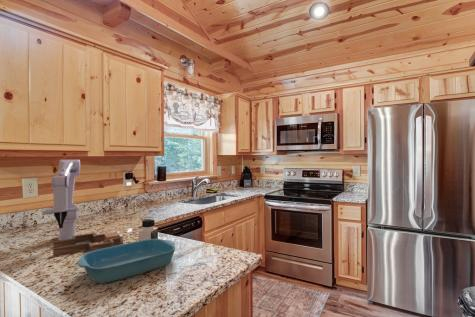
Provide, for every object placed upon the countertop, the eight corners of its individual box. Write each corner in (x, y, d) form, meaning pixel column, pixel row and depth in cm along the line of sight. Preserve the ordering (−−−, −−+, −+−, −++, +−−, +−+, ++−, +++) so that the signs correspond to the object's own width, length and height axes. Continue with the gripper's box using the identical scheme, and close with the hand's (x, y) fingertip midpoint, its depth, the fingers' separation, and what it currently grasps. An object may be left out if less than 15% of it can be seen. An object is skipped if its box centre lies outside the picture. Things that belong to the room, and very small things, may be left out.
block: (104, 241, 135) (104, 234, 135) (117, 239, 139) (117, 232, 138) (106, 244, 130) (106, 237, 130) (119, 242, 134) (119, 234, 134)
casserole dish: (161, 249, 124) (161, 234, 124) (185, 263, 107) (185, 246, 107) (71, 272, 99) (71, 254, 99) (85, 295, 83) (84, 273, 83)
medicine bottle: (151, 245, 128) (150, 221, 128) (138, 244, 130) (138, 220, 130) (158, 241, 135) (158, 218, 135) (145, 240, 137) (145, 217, 137)
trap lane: (53, 244, 130) (53, 238, 130) (116, 234, 146) (116, 228, 146) (52, 259, 111) (52, 251, 111) (125, 245, 128) (125, 238, 128)
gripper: (41, 202, 120) (41, 232, 120) (78, 199, 128) (78, 227, 128) (42, 200, 125) (42, 228, 126) (77, 197, 134) (77, 224, 134)
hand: (60, 227), depth 127 cm, fingers closed
